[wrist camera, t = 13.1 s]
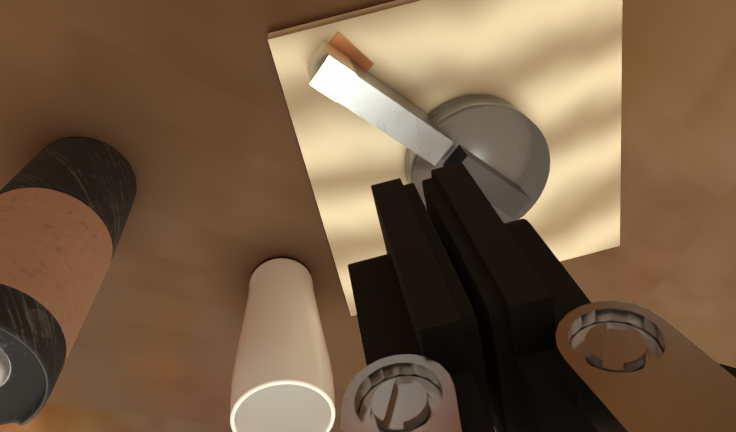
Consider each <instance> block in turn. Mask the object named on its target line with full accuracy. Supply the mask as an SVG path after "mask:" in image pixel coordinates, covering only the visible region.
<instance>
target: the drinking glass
mask: <svg viewBox="0 0 736 432" xmlns="http://www.w3.org/2000/svg"><path fill="white" fill-rule="evenodd" d="M334 420H335V396H334V384H333V376H332V369H331V363H330V358H329V354H328V349H327V345H326V341H325V337H324V333H323V329H322V325H321V321H320V317H319V312H318V308H317V304H316V299H315V295H314V287H313V280H312V277H311V275H310V273H309V271H308V270H307V269H306V268H305V267H304V266H303V265H302V264H301V263H299V262H297V261H294V260H291V259H286V258H277V259H272V260H269V261H267V262H265V263H263V264H261V265H260V266H259V267H258V268H257V269H256V270H255V271H254V272H253V274H252V276H251V278H250V282H249V292H248V299H247V304H246V309H245V314H244V319H243V324H242V329H241V334H240V338H239V343H238V348H237V352H236V357H235V363H234V369H233V375H232V384H231V400H230V425H231V428H232V431H233V432H329V431H330V430H331V428H332V426H333V423H334Z"/></svg>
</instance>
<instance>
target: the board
mask: <svg viewBox="0 0 736 432" xmlns="http://www.w3.org/2000/svg"><path fill="white" fill-rule="evenodd" d="M324 40H325V41H326V42H328V43H329V44H330V45H332V46H333V47H335V48H336V49H338V50H339V51H340V52H342V53H343V54H345V55H346V56H348V57H349V59H350V60H352V61H353V62H355V63H356V64H358V65H359V66H360V67H362V68H363V69H365V70H366V71H368V72H369V73H370V74H372V75H373V76H375V77H376V78H378V79H379V80H380V81H382V82H383V83H385V84H386V85H388V86H389V87H390V88H392V89H393V90H395V91H396V92H398V93H399V94H400V95H402V96H403V97H405V98H406V99H408V100H409V101H410V102H412V103H413V104H415V105H416V106H418V107H419V108H421V109H422V110H423V111H425V112H426V113H428V114H429V113H431V112H432V111H433V110H434V109H436V108H437V107H439V106H440V105H442V104H444V103H446V102H448V101H450V100H452V99H455V98H458V97H462V96H465V95H473V94H485V95H492V96H496V97H499V98H502V99H504V100H506V101H508V102H510V103H511V104H513V105H514V106H515V107H516V108H518V109H519V110H520V111H521V112H522V113H523V114H524V115H525V116H526V117H528V118H529V119H530V120H531V121H532V122H533V123H534V124H535V125H536V126H537V127H538V128H539V129H540V131H541V132H542V134H543V135H544V137H545V139H546V142H547V144H548V148H549V153H550V171H549V176H548V180H547V183H546V185H545V188H544V190H543V192H542V194H541V196H540V197H539V199H538V200H537V202H536V203H535V204H534V206H533V207H532V208H531V209H530V210H529V211H528V212H527V213H526V214H525V215H524V216H523V217H521V218H520V219H526V220H527V221H528V222H529V223H530V224H531V225H532V226H533V228H534V229H535V230H536V232H537V233H538V234H539V235H540V237H541V238H542V239H543V241H544V242H545V243H546V245H547V246H548V247H549V248H550V250H551V251H552V252H553V254H554V255H555V256H556V258H557V259H558V260H559V261H563V260H567V259H571V258H575V257H578V256H582V255H586V254H590V253H594V252H597V251H601V250H605V249H609V248H613V247H616V246H620V174H621V79H622V0H396V1H392V2H388V3H384V4H380V5H376V6H372V7H368V8H365V9H361V10H357V11H353V12H349V13H345V14H341V15H337V16H333V17H329V18H325V19H322V20H318V21H314V22H310V23H306V24H302V25H298V26H294V27H290V28H286V29H283V30H279V31H275V32H271V33H268V42H269V46H270V49H271V52H272V56H273V59H274V62H275V65H276V69H277V72H278V75H279V79H280V82H281V85H282V89H283V92H284V95H285V99H286V102H287V105H288V109H289V112H290V115H291V119H292V122H293V125H294V128H295V132H296V135H297V138H298V142H299V145H300V148H301V152H302V155H303V158H304V162H305V165H306V168H307V172H308V175H309V178H310V181H311V185H312V188H313V191H314V195H315V198H316V201H317V205H318V208H319V211H320V215H321V218H322V221H323V225H324V228H325V231H326V234H327V238H328V241H329V244H330V248H331V251H332V254H333V258H334V261H335V264H336V268H337V271H338V274H339V278H340V281H341V284H342V287H343V291H344V294H345V297H346V301H347V304H348V307H349V311H350V314H351V316H354V315H357V312H356V307H355V301H354V296H353V291H352V286H351V281H350V276H349V270H348V264H351V263H355V262H359V261H363V260H366V259H370V258H374V257H378V256H382V255H386V254H387V252H386V247H385V243H384V239H383V235H382V231H381V227H380V223H379V219H378V214H377V210H376V206H375V202H374V198H373V194H372V189H371V185H375V184H379V183H382V182H386V181H390V180H394V179H398V178H400V179H401V181H402V183H403V185H406V184H408V182H407V179H406V174H405V155H406V150H407V147H405V146H404V145H402V144H401V143H399V142H398V141H396V140H395V139H393V138H392V137H390V136H389V135H387V134H386V133H384V132H383V131H381V130H380V129H378V128H377V127H375V126H373V125H372V124H370V123H369V122H367V121H366V120H364V119H363V118H361V117H360V116H358V115H357V114H355V113H354V112H352V111H351V110H349V109H348V108H346V107H345V106H343V105H342V104H340V103H338V102H335V101H334V100H332V99H331V98H329V97H328V96H326V95H324V94H323V93H321V92H320V91H318V90H317V89H315V88H314V87H312V86H311V85H309V79H308V74H307V68H306V66H307V65H308V63H309V62H310V60H311V59H312V57H313V56H314V54H315V53H316V51H317V50H318V48H319V47H320V45H321V44H322V42H323V41H324Z"/></svg>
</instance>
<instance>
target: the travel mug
mask: <svg viewBox="0 0 736 432" xmlns="http://www.w3.org/2000/svg"><path fill="white" fill-rule="evenodd" d="M135 193H136V182H135V177H134V174H133V171H132V169H131V167H130V166H129V164H128V163H127V161H126V160H125V159H124V158H123V157H122V156H121V155H120V154H119V153H118V152H117V151H116V150H114V149H113V148H111V147H110V146H108V145H106V144H104V143H102V142H99V141H96V140H93V139H89V138H81V137H73V138H66V139H62V140H59V141H56V142H54V143H52V144H50V145H48V146H47V147H46V148H44V149H43V150H42V151H41V152H40V153H39V154H37V155H36V156H35V157H34V158H33V159H32V160H31V161H30V162H29V163H28V164H27V165H26V166H25V167H24V168H23V169H22V170H21V171H20V172H19V173H18V174H17V175H16V176H15V177H14V178H13V179H12V180H11V181H10V182H9V183H8V184H7V185H6V186H5V187H4V188H3V189H2V190H1V191H0V425H2V424H8V423H18V424H19V425H20V426H21V425H24V424H26V423H27V422H29V421H30V420H31V419H33V418H34V417H35V416H36V415H37V414H38V413H39V411H40V410H41V409H42V408H43V406H44V405H45V403H46V401H47V399H48V398H49V396H50V394H51V392H52V390H53V387H54V385H55V383H56V381H57V379H58V377H59V374H60V372H61V370H62V368H63V365H64V364H65V361H66V359H67V357H68V355H69V353H70V350H71V348H72V346H73V344H74V342H75V340H76V337H77V335H78V333H79V331H80V329H81V327H82V324H83V322H84V320H85V318H86V316H87V314H88V311H89V309H90V307H91V305H92V303H93V300H94V298H95V296H96V294H97V292H98V290H99V287H100V285H101V283H102V281H103V279H104V277H105V274H106V272H107V270H108V268H109V265H110V263H111V260H112V258H113V255H114V252H115V250H116V247H117V245H118V242H119V239H120V237H121V234H122V231H123V229H124V226H125V223H126V221H127V218H128V215H129V213H130V210H131V207H132V204H133V201H134V198H135Z"/></svg>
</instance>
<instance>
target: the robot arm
mask: <svg viewBox="0 0 736 432" xmlns="http://www.w3.org/2000/svg"><path fill="white" fill-rule="evenodd" d="M431 177H432V178H429V179H425V180H422V186H423V192H424V197H425V203H426V208H427V210H426V208H425V206H424V203H423V201H422V199H421V197H420V195H419V193H418V191H417V189H416V187H415V184H414V183H410V184H406V185H403V183H402V181H401V179H400V178H398V179H394V180H390V181H386V182H382V183H379V184H375V185H371V189H372V194H373V198H374V202H375V206H376V210H377V214H378V219H379V223H380V227H381V231H382V235H383V239H384V243H385V247H386V252H387V254H386V255H382V256H378V257H374V258H370V259H366V260H363V261H359V262H355V263H351V264H348V270H349V276H350V281H351V286H352V291H353V296H354V301H355V307H356V312H357V317H358V322H359V327H360V333H361V338H362V343H363V348H364V353H365V358H366V364H367V366H366V367H365V368H364V369H362V370H361V371H360V372H359V373H358V374H357V375H356V376H355V377H354V378H353V379H352V381H351V382H350V384H349V386H348V387H347V389H346V391H345V395H344V399H343V403H342V417H341V432H495V429H496V431H497V432H736V368H733V367H729V366H726V365H722V364H719V363H717V362H716V361H715V360H713V359H712V358H711V357H710V356H709V355H707V354H706V353H705V352H704V351H703V350H701V349H700V348H699V347H698V346H697V345H695V344H694V343H693V342H692V341H691V340H689V339H688V338H687V337H686V336H684V335H683V334H682V333H681V332H680V331H678V330H677V329H676V328H675V327H674V326H672V325H671V324H670V323H669V322H668V321H666V320H665V319H664V318H662V317H661V316H659V315H658V314H656V313H654V312H653V311H651V310H650V309H647V308H644V307H641V306H638V305H636V304H633V303H626V302H619V301H600V302H594V303H591V302H590V301H589V299H588V298H587V297H586V296H585V294H584V293H583V292H582V290H581V289H580V288H579V286H578V285H577V284H576V282H575V281H574V280H573V279H572V277H571V276H570V275H569V273H568V272H567V271H566V269H565V268H564V267H563V265H562V264H561V263H560V262H559V260H558V259H557V258H556V256H555V255H554V254H553V252H552V251H551V250H550V248H549V247H548V246H547V245H546V243H545V242H544V241H543V239H542V238H541V237H540V235H539V234H538V233H537V232H536V230H535V229H534V228H533V226H532V225H531V224H530V223H529V222H528V221H527V220H526V219H519V220H515V221H512V222H508V223H503V221H502V220H501V218H500V217H499V215H498V214H497V212H496V211H495V209H494V208H493V207H492V205H491V204H490V202H489V201H488V199H487V198H486V196H485V195H484V193H483V192H482V191H481V189H480V188H479V186H478V185H477V183H476V182H475V180H474V179H473V177H472V176H471V175H470V173H469V172H468V170H467V169H466V167H465V166H464V164H463V163H462V162H459V163H455V164H452V165H448V166H444V167H440V168H436V169H432V170H431ZM494 426H495V429H494Z"/></svg>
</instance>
